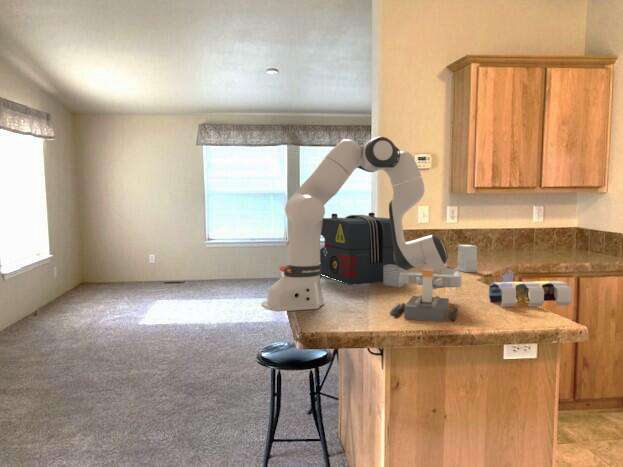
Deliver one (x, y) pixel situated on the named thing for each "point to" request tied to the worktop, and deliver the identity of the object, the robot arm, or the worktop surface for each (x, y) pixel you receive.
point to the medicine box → (392, 275)
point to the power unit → (356, 248)
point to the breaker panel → (427, 309)
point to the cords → (397, 310)
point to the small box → (467, 258)
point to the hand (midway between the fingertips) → (427, 282)
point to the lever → (427, 285)
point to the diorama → (529, 292)
